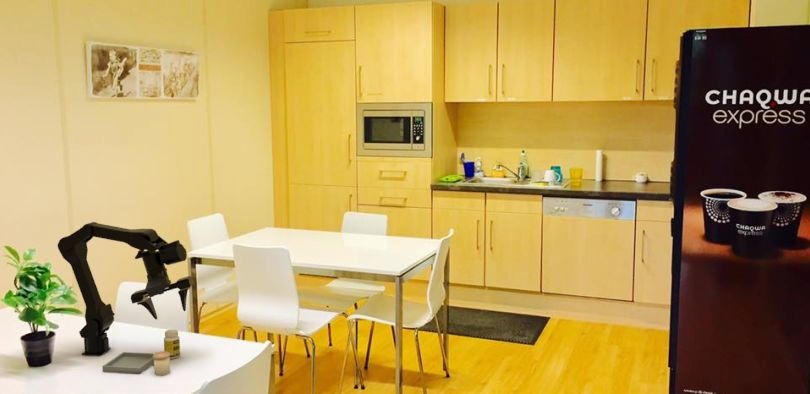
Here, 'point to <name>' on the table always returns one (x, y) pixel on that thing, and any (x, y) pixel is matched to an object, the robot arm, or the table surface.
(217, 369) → the table surface
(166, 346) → the supplement bottle
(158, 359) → the sugar jar
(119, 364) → the tray
